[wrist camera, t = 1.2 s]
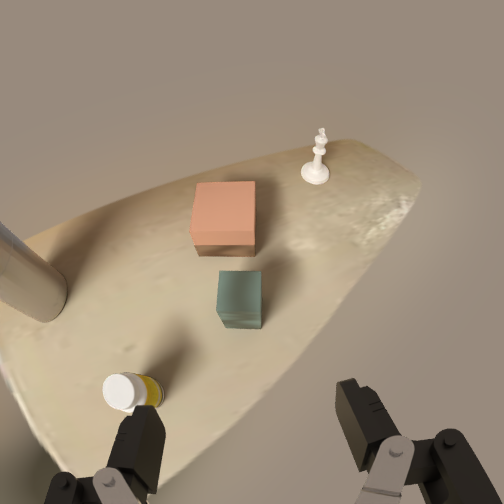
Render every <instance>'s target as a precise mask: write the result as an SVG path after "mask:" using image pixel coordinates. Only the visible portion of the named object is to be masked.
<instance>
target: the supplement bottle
mask: <svg viewBox="0 0 504 504" xmlns="http://www.w3.org/2000/svg"><path fill="white" fill-rule="evenodd" d="M103 395H104V398H105V400H106V402H107V403H108V404H109V405H110V406H111V407H113V408H115V409H119V410H122V411H124V412H130V413H133V411H134V408H135V406H136V405H153V406H154V407H155V409H157V408H159V407H160V405H161V404H162V402H163V400H164V391H163V388H162V386H161V384H160V383H159V382H158V381H157V380H155V379H154V378H152V377H148V376H144V375H139V374H135V373H129V372H125V373H121V374H118V373H116V374H112V375H110V376H109V377H107V379H106V380H105V382H104V384H103Z"/></svg>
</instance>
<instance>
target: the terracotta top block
mask: <svg viewBox="0 0 504 504" xmlns="http://www.w3.org/2000/svg"><path fill="white" fill-rule="evenodd" d="M255 201H256V196H255V181H239V182H205V183H197V187H196V193H195V199H194V205H193V211H192V217H191V224H190V230H189V232H190V234H191V237H192V239H193V242H194V244H195V245H255Z"/></svg>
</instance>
